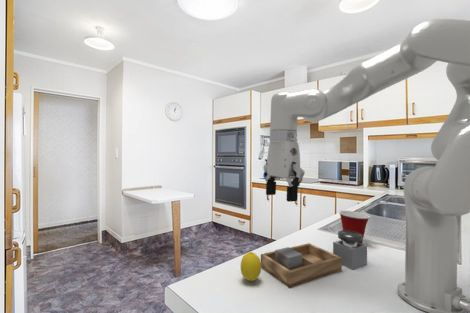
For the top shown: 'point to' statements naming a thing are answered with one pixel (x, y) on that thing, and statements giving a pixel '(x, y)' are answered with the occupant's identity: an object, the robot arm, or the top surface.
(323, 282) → the top surface
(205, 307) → the top surface
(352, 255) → the mount
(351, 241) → the plunger
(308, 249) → the caddy
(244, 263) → the lemon
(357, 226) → the plastic cup
